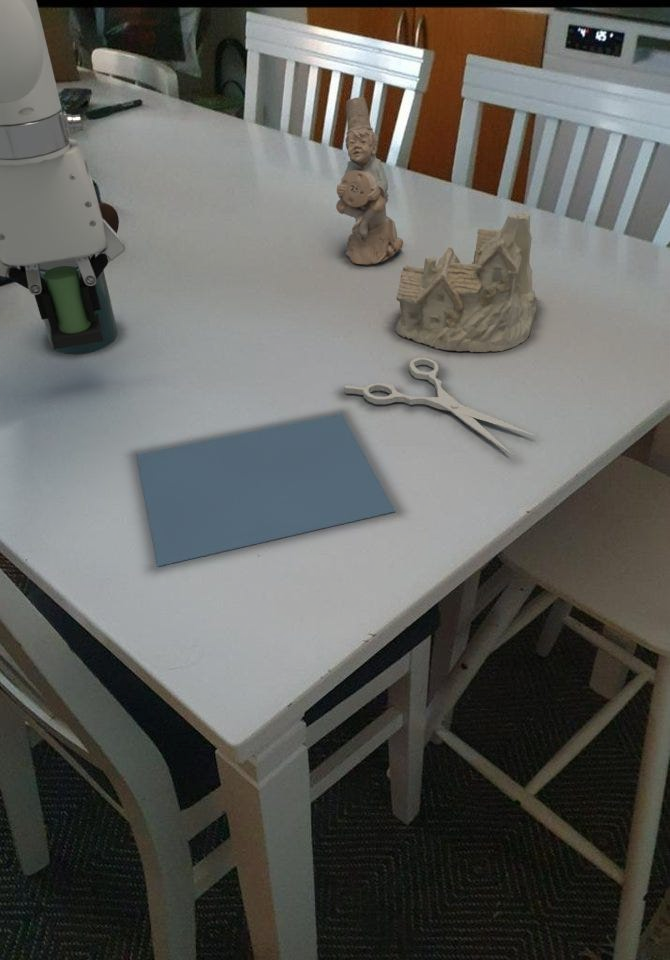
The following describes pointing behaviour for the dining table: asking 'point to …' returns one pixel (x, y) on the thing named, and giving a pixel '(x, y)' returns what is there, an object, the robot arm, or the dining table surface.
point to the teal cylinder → (104, 314)
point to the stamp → (70, 309)
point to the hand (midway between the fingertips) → (73, 318)
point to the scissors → (431, 399)
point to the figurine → (365, 192)
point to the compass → (109, 216)
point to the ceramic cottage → (473, 294)
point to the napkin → (257, 488)
